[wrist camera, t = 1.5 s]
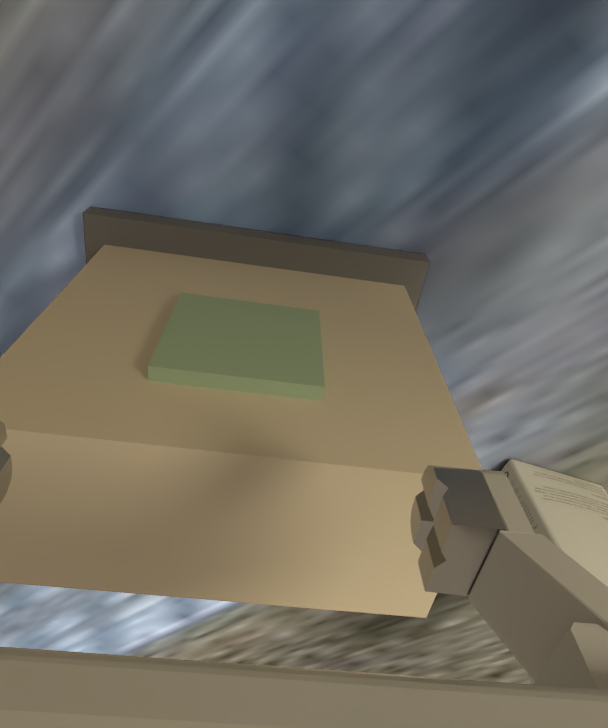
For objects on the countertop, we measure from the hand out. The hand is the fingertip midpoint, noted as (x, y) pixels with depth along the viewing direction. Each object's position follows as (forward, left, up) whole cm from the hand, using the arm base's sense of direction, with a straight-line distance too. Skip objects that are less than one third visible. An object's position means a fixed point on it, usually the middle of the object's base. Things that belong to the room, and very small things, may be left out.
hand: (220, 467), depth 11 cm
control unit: (+7, 0, -20) cm, 21 cm away
